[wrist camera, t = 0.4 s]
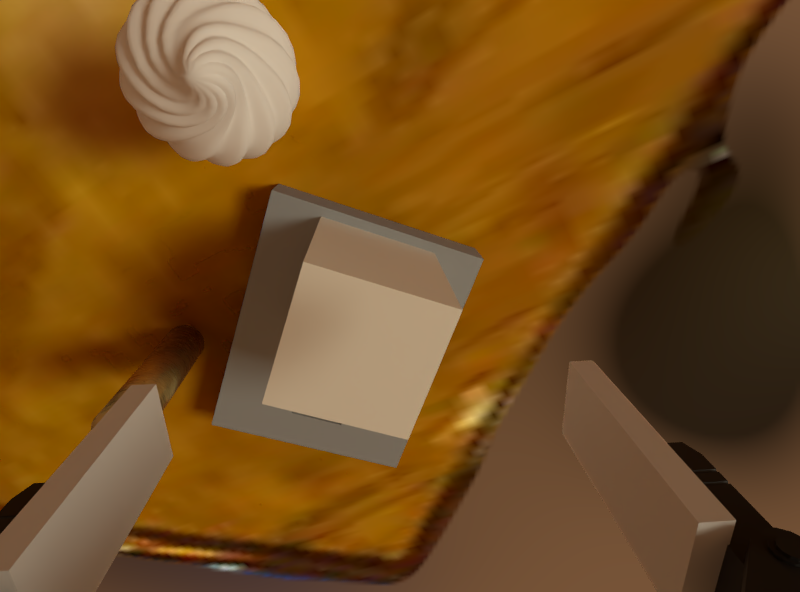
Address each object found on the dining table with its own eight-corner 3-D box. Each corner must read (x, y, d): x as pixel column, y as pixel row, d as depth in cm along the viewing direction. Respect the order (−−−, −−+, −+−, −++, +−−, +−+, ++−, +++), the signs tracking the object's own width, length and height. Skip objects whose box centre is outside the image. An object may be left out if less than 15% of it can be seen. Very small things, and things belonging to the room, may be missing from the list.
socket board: (221, 403, 43) (211, 424, 40) (278, 183, 36) (271, 190, 34) (394, 445, 46) (396, 467, 43) (474, 248, 39) (483, 259, 36)
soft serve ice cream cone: (198, 142, 35) (75, 167, 20) (192, 10, 32) (44, -76, 17) (315, 154, 36) (282, 186, 21) (321, 26, 33) (286, -42, 18)
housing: (289, 322, 37) (261, 403, 27) (321, 216, 34) (303, 261, 24) (396, 352, 39) (408, 439, 28) (434, 252, 36) (462, 310, 26)
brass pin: (163, 353, 41) (88, 445, 29) (170, 321, 40) (94, 405, 28) (200, 362, 41) (139, 456, 30) (207, 331, 40) (147, 417, 29)
